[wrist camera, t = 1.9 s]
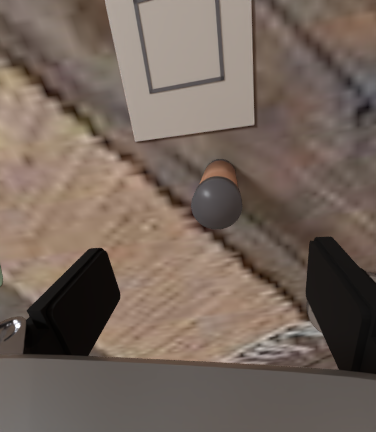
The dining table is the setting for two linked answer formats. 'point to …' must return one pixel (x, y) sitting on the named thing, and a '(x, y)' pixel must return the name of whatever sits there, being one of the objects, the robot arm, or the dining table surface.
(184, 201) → the dining table surface
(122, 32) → the paper sheet
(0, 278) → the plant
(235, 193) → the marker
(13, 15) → the dining table surface
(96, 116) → the dining table surface
